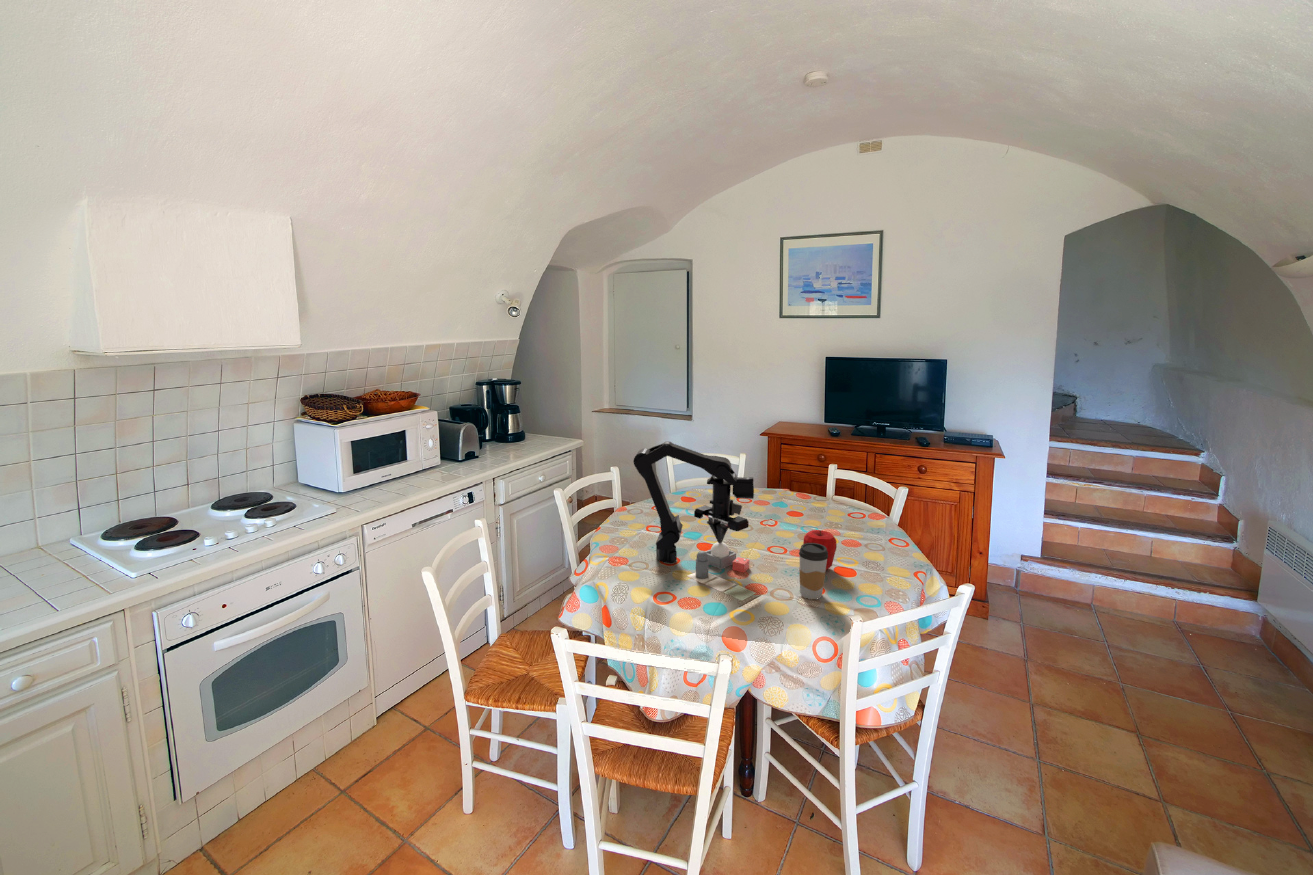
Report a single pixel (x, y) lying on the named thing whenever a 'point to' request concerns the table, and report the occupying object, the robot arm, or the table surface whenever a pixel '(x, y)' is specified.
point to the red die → (740, 564)
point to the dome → (720, 550)
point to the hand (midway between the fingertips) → (720, 542)
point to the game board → (725, 587)
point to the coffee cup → (812, 569)
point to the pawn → (702, 565)
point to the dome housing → (721, 559)
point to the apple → (823, 543)
